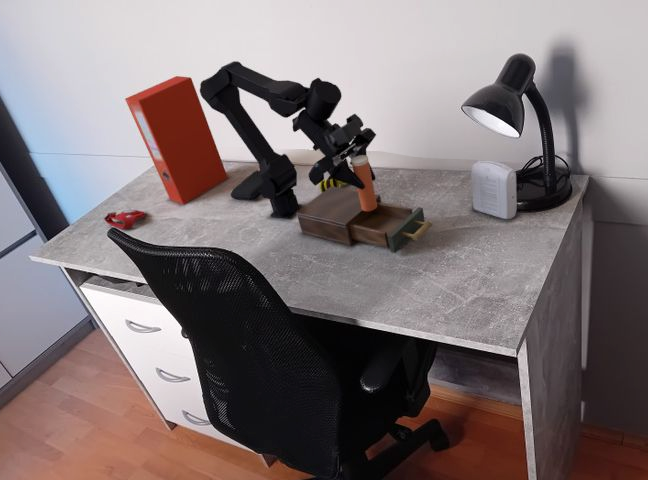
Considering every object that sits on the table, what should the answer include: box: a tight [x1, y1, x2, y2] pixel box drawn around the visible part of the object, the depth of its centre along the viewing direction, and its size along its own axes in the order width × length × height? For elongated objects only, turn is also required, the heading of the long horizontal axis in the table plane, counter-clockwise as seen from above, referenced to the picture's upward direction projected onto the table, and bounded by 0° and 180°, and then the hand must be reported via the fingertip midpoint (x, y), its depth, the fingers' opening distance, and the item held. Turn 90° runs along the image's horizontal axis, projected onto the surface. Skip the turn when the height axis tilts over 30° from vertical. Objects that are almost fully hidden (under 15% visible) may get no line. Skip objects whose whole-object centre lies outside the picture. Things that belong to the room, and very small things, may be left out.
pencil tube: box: [350, 154, 377, 211], centre depth 120 cm, size 4×4×12 cm
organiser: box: [295, 186, 383, 247], centre depth 132 cm, size 16×14×6 cm
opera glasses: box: [318, 178, 348, 194], centre depth 150 cm, size 10×5×5 cm, turn 149°
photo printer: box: [470, 160, 518, 220], centre depth 121 cm, size 10×4×12 cm, turn 42°
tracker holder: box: [102, 209, 146, 230], centre depth 159 cm, size 12×4×10 cm
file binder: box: [124, 75, 228, 205], centre depth 160 cm, size 8×17×32 cm, turn 138°
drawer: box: [348, 201, 433, 254], centre depth 123 cm, size 19×12×4 cm, turn 51°
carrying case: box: [230, 170, 264, 202], centre depth 159 cm, size 11×3×15 cm
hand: (369, 184), depth 119 cm, fingers closed on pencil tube, 3 cm apart
